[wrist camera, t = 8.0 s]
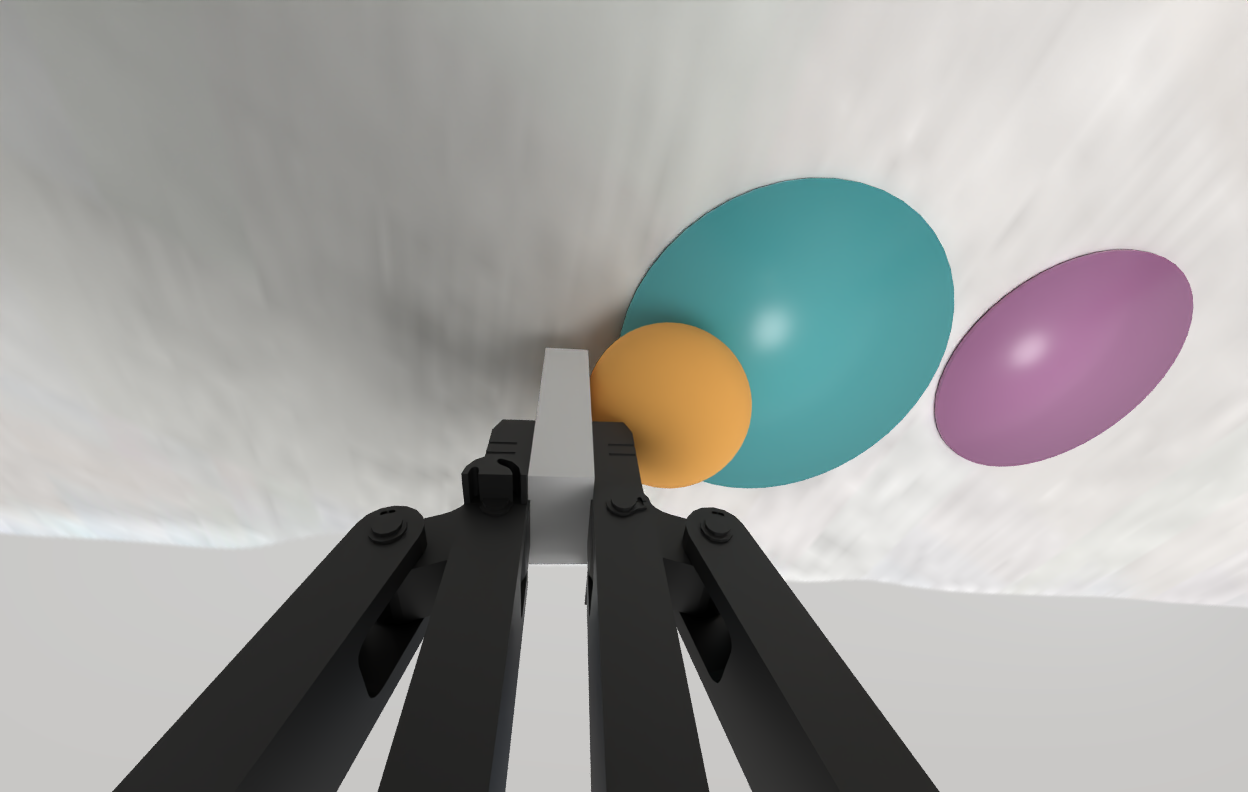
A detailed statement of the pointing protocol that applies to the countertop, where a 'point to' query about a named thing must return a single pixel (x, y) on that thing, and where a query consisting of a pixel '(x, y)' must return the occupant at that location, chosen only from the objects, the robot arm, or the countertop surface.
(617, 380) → the ball
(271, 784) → the robot arm
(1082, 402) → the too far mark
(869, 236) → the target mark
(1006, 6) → the countertop surface
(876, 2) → the countertop surface
